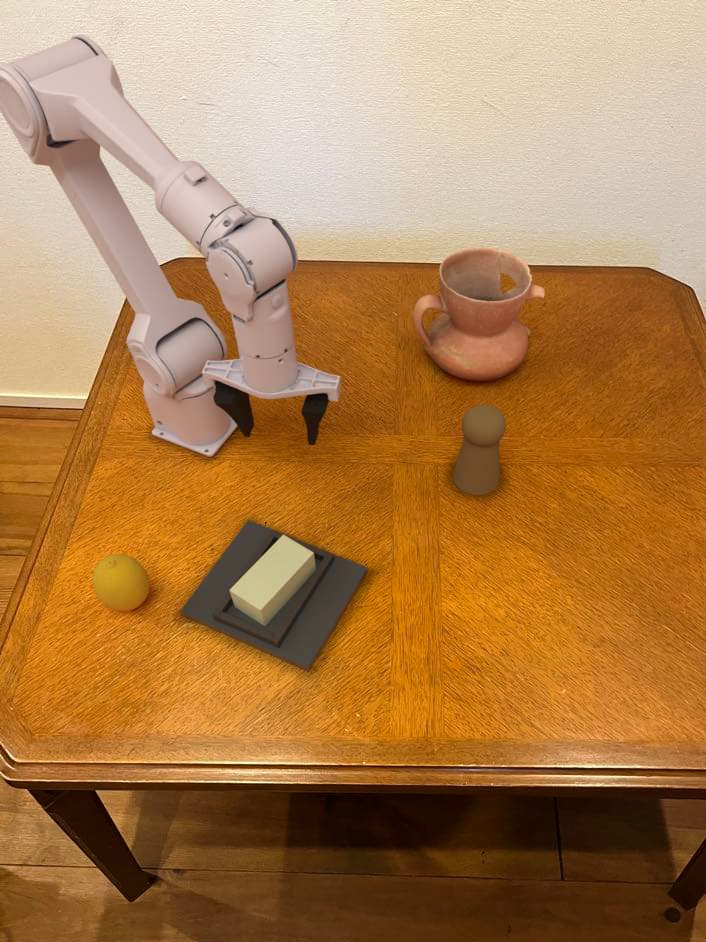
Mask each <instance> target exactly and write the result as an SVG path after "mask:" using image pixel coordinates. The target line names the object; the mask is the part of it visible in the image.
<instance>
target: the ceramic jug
mask: <svg viewBox="0 0 706 942" xmlns="http://www.w3.org/2000/svg"><path fill="white" fill-rule="evenodd" d="M502 274H505V275H507V276H509V277H510V279H511V280H512V281H513V282H514V283H515V284H516V287H514V288H511V289H509V290H507V291H505V292H504V293H502V288H501V287H502V286H501V276H502ZM438 281H439V289H440V293H441V295H440V296H439V295H437V294H436V295H435V294H427V295H423V296H422V297H420V298H419V299H418V300H417V302H416V304H415V306H414V308H413V313H412V323H413V324H412V325H413V328H414V330H415V332H416V333H417V335H418V336H419V338H420V340H421V341H422V342H423V348H424V350H425V351H426V353H427V354H428V355H429V357H430V359H431V360H432V361H433V362H434V363H435V364H436V366H438V367H439V368H440V369H441V370H442V371H444V372H446V373H447V374H450V375H451V376H453V377H456V378H459V379H462V380H466V381H471V382H472V381H473V382H488V381H493V380H494V381H495V380H498V379H501V378H503V377H506V376H508V375H509V374H510V373H512V372H514V371H516V370H517V369H518V368H519V367H520V366H521V364H522V363H523V361H525V359H526V356H527V354H528V349H529V338H530V336H531V329H529V328H528V327H527V326H526V325H524V324H523V322H521V320H520V319H519V318H517V316H518V315H519V313H520V312H521V310H522V308H523V307H524V305H525V303H526V302H528V301H530V300H532V299H539V300H544V298H545V296H546V295H545V294H546V293H545V292H546V291H545V288H544V287H542V286H539V285H536V284H535V285H534V284H533V285H532V282H533V275H532V274H531V269H530V266H529V265H528V264H527V263H526V262H525V261H524V260H523V259H521V257H519V256H517V255H516V254H514V253H512V252H509V251H506V250H502V249H501V250H500V249H498V248H492V247H473V248H469V249H463V250H461V251H456V252H454V253H452V254H450V255H449V256H447V257H446V258H445V259H443V260H442V262H441V263H440V265H439V269H438ZM428 310H436V311H439V312H441V313H440V314H439V315H438V316H436V317H435V319H434V320H433V321H432V322H431V324H430V325H429V327H428V330H427V331H426V329H425V326H424V320H423V319H424V316H425V313H426V312H427V311H428Z"/></svg>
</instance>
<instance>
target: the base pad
mask: <svg viewBox="0 0 706 942" xmlns="http://www.w3.org/2000/svg"><path fill="white" fill-rule="evenodd" d="M282 535H285V536H287V537H288V538H290V539H292V540H293V541H295V542H297V543H298V544H300V545H302V546H303V547H305V548H307V549H308V550H310V551H312V552H313V553H314V558H315V565H316V571H315V572H314V573H313V574H312V575H311V576H310V577H309V579H308V580H307V581H306V582H305V583H304V584H303V585H302V586H301V587H300V588H299V590H298V591H297V592H296V593H295V594H294V595H293V596H292V597H291V598H290V600H289V601H288V602H287V603H286V604H285V605H284V606H283V607H282V608H281V609H280V611H279V612H278V613H277V614H276V615H275V616H274V617H273V618H272V619H271V620H270V622H269V623H268V624H267V625H266V626H264V625H262V624H260V623H259V622H257V621H256V620H254V619H253V618H251V617H250V616H248V615H247V614H245V613H244V612H242V611H241V610H239V609H237V608H236V607H235V606H234V603H233V600H232V597H231V594H230V591H229V590H230V589H231V588H232V587H233V586H234V585H235V584H236V583H237V582H238V581H239V580H240V579H241V578H242V577H243V576H244V575H245V574H246V572H247V571H248V570H249V569H250V568H251V567H252V566H253V565H254V564H255V563H256V562H257V561H258V560H259V559H260V558H261V557H262V556H263V555H264V554H265V553H266V552H267V551H268V550H269V549H270V548H271V547H272V546H273V545H274V544H275V543H276V542H277V541H278V540H279V539H280V537H281V536H282ZM368 572H369V571H368V567H367V566H365V565H362V564H359V563H357V562H354V561H352V560H349V559H347V558H345V557H342V556H339V555H337V554H335V553H332V552H330V551H327V550H324V549H323V548H319V547H317V546H314V545H312V544H309V543H307V542H304V541H302V540H299V539H297V538H294V537H292V536H289V535H287V534H284V533H282V532H280V531H277V530H274V529H272V528H269V527H267V526H264V525H263V524H260V523H257V522H255V521H253V520H249V519H248V520H246V522H245V524H244V525H243V526H242V528H241V529H240V530H239V532H238V533H237V535H235V537H234V538H233V539H232V541H231V542H230V543H229V545H228V546H227V547H226V549H225V550H224V552H223V553H222V554H221V555H220V557H219V558H218V560H217V561H216V562H215V564H214V565H213V567H212V568H211V569H210V571H209V572H208V573H207V574H206V576H205V577H204V578H203V580H202V581H201V582H200V584H199V585H198V587H197V588H196V589H195V591H193V593H192V595H191V596H190V598H189V599H188V600H187V601H186V603H185V604H184V606H182V608H181V610H180V611H179V612H180V613H181V616H182V617H183V618H187V619H189V620H191V621H194V622H196V623H198V624H200V625H203V626H204V627H206V628H209V629H211V630H214V631H215V632H218V633H221V634H223V635H225V636H227V637H230V638H231V639H234V640H236V641H239V642H241V643H243V644H246V645H247V646H249V647H251V648H254V649H256V650H259V651H261V652H263V653H265V654H268V655H270V656H272V657H274V658H276V659H279V660H281V661H282V662H285V663H288V664H290V665H292V666H294V667H296V668H299V669H301V670H303V671H306V672H307V673H309V672H310V671H311V669H312V667H313V666H314V664H315V662H316V660H317V659H318V657H319V656H320V654H321V652H322V651H323V648H324V647H325V645H326V644H327V642H328V640H329V638H330V637H331V635H332V633H333V632H334V630H335V628H336V626H337V625H338V624H339V621H340V620H341V618H342V616H343V615H344V613H345V612H346V610H347V608H348V606H349V605H350V603H351V601H352V599H353V598H354V596H355V595H356V593H357V591H358V589H359V588H360V587H361V584H362V583H363V581H364V579H365V578H366V576H367V574H368Z"/></svg>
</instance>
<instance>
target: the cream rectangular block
mask: <svg viewBox="0 0 706 942" xmlns="http://www.w3.org/2000/svg"><path fill="white" fill-rule="evenodd" d="M285 535H286V534H285ZM285 535H282V536H281V537H280V539H279V540H278V541H277V542H276V543H275V544H274V545H273V546H272V547H271V548H270V549H269V550H268V551H267V552H266V553H265V554H264V555H263V556H262V557H261V558H260V559H259V560H258V561H257V562H256V563H255V564H254V565H253V566H252V567H251V568H250V569H249V570H248V571H247V572H246V574H245V575H244V576H243V577H242V578H241V579H240V580H239V581H238V582H237V583H236V584H235V585H234V586H233V587H232V588H231V589H230V590H229V591H230V594H231V597H232V600H233V603H234V606H235V607H236V608H237V609H239V610H241V611H242V612H244V613H245V614H247V615H248V616H250V617H251V618H253V619H254V620H256V621H257V622H259V623H260V624H262V625H264V626H266V625H267V624H268V623H269V622H270V620H271V619H272V618H273V617H274V616H275V615H276V614H277V613H278V612H279V611H280V609H281V608H282V607H283V606H284V605H285V604H286V603H287V602H288V601H289V600H290V598H291V597H292V596H293V595H294V594H295V593H296V592H297V591H298V590H299V588H300V587H301V586H302V585H303V584H304V583H305V582H306V581H307V580H308V579H309V577H310V576H311V575H312V574H313V573H314V572H315V571H316V565H315V558H314V553H313V552H312V551H310V550H308V549H307V548H305V547H303V546H302V545H300V544H298V543H297V542H295V541H293V540H292V539H290V538H288V537H287V536H288V535H287V536H285Z"/></svg>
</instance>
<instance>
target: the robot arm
mask: <svg viewBox="0 0 706 942" xmlns="http://www.w3.org/2000/svg"><path fill="white" fill-rule="evenodd" d="M0 113H1V115H2V116H3V118H4V120H5V121H6V123H7V125H8V126H9V128H10V130H11V132H12V133H13V134H14V136H15V138H16V140H17V141H18V143H19V145H20V146H21V148H22V150H23V151H24V152H25V154H27V156H28V158H29V159H30V161H31V163H32V164H33V165H38V166H46V167H49V168H50V171H51V172H52V174H53V175H54V177H55V179H56V180H57V182H58V184H59V186H60V187H61V189H62V191H63V192H64V194H65V196H66V197H67V200H69V202H70V204H71V206H72V208H73V210H74V211H75V213H76V214H77V216H78V218H79V219H80V221H81V223H82V224H83V226H84V228H85V229H86V231H87V233H88V235H89V237H90V238H91V240H92V242H93V243H94V245H95V247H96V248H97V250H98V252H99V253H100V255H101V257H102V259H103V260H104V262H105V264H106V266H107V267H108V269H109V270H110V273H111V274H112V276H113V277H114V279H115V281H116V282H117V284H118V286H119V288H120V289H121V291H122V293H123V294H124V296H125V298H126V299H127V301H128V303H129V304H130V306H131V309H132V310H133V311H134V313H135V314H134V315H135V316H134V319H133V322H132V323H131V327H130V329H129V332H128V334H127V337H126V340H125V344H126V345H127V348H128V350H129V353H130V354H131V356H132V358H133V361H134V364H135V368H136V370H137V372H138V374H139V376H140V377H141V379H142V380H143V388H142V392H143V393H142V394H143V397H144V400H145V403H146V406H147V408H148V411H149V415H150V417H151V419H152V423H153V425H154V428H152V431H151V434H152V436H153V437H156V438H159V439H161V440H164V441H165V442H166V441H167V442H170V443H172V444H173V445H177V446H179V447H182V448H185V449H188V450H190V451H193V452H195V453H198V454H201V455H203V456H206V457H208V458H211V457H214V455H216V453H218V451H219V450H220V448H222V446H223V445H224V444H225V442H226V441H227V440H228V439H229V437H231V436H232V434H233V433H234V432H235V431H236V429H239V431H240V432H241V434H242V436H243V438H250V437H251V434H252V432H253V428H254V427H255V422H254V421H255V420H254V419H255V418H254V413H253V410H252V404H251V401H250V395H251V396H253V397H256V398H258V399H262V400H263V399H264V400H277V399H287V398H294V397H301V396H305V398H304V400H303V401H304V402H303V404H302V407H301V411H300V412H301V415H302V417H303V420H304V422H305V427H306V435H307V436H306V437H307V443H308V445H309V446H316V443H317V440H318V437H319V433H320V432H319V430H320V429H319V428H320V423H321V422H322V420H323V418H324V417H325V414H326V412H327V409H328V406H329V402H338V401H339V398H340V395H341V392H342V379H341V375H337V374H332V373H328V372H325V371H322V370H320V369H317V368H314V367H312V366H309V365H308V364H306V363H302V362H300V361H298V358H297V350H296V342H295V335H294V327H293V319H292V309H291V302H290V294H289V287H288V285H289V284H288V280H287V278H288V277H289V276H290V275H291V274H292V273H294V272H295V271H296V269H297V267H298V263H299V256H298V250H297V247H296V244H295V242H294V240H293V237H292V236H291V234H290V232H289V231H288V230H287V228H286V227H285V226H284V225H283V224H282V223H281V222H280V220H279V219H278V217H276V216H274V215H273V214H271V213H269V212H264V211H262V212H261V211H258V210H257V209H256V208H255V207H252V206H249V207H245V206H243V204H242V203H241V202H240V201H239V200H238V199H237V198H236V197H235V196H234V195H233V194H232V193H230V192H229V190H228V189H227V188H225V187H224V186H223V184H222V183H220V182H219V180H217V179H216V177H214V176H213V175H212V174H211V173H210V171H208V170H207V169H206V167H204V166H203V165H202V164H201V163H199V162H198V161H196V160H179V158H178V157H177V156H176V155H175V154H174V152H173V151H171V149H170V148H169V147H168V146H167V144H166V143H165V142H164V141H163V140H162V138H160V136H159V135H158V134H157V133H156V132H155V131H154V129H152V127H151V126H150V125H149V124H148V123H147V122H146V120H145V119H144V118H143V117H142V116H141V114H140V113H139V112H138V111H137V110H136V109H135V108H134V106H133V105H132V104H131V103H130V102H129V100H128V99H126V97H125V94H124V89H123V85H122V82H121V78H120V76H119V74H118V71H117V69H116V67H115V64H114V63H113V61H112V60H111V59H109V57H108V56H107V54H106V53H105V51H104V50H103V49H102V47H101V46H100V45H98V44H97V43H96V42H95V41H94V40H93V39H92V38H90V37H89V36H87V35H85V34H77V35H74V36H72V37H71V38H70V39H69V40H66V41H64V42H60V43H58V44H55V45H54V46H53V45H52V46H50V47H47V48H44V49H42V50H39V51H36V52H33V53H31V54H28V55H26V56H23V57H21V58H18V59H15V60H13V61H10V62H7V63H5V62H2V63H0ZM101 148H103V149H104V150H105V151H106V152H107V153H108V154H110V155H111V156H112V157H113V158H114V159H115V160H117V161H118V162H120V163H121V165H122V166H124V167H125V168H127V169H128V170H129V171H130V172H131V173H133V174H134V175H135V176H136V177H137V178H138V179H140V180H141V181H142V182H143V183H145V184H146V185H147V186H148V187H149V188H150V189H152V190H153V192H154V205H155V208H156V210H157V212H158V213H159V214H160V215H161V216H162V217H163V218H164V219H165V220H166V221H167V222H168V223H169V224H170V225H171V226H172V227H173V228H174V229H175V230H176V231H177V232H178V233H179V234H180V235H181V236H182V237H183V238H185V240H186V241H188V242H189V244H191V245H192V246H193V248H195V250H196V251H197V252H199V253H200V254H201V255H202V256H203V257H204V258H205V259H206V260H205V265H206V269H207V272H208V274H209V275H210V277H211V278H210V279H212V281H213V283H214V285H215V286H216V287H217V289H218V291H219V293H220V297H221V303H222V304H223V305H224V307H225V309H226V311H227V312H229V313H230V316H231V321H232V326H233V331H234V336H235V340H236V347H237V351H238V356H239V358H234V359H227V357H228V352H229V351H228V344H227V340H226V337H225V335H224V333H223V332H222V330H221V329H220V328H219V326H218V325H217V324H216V323H215V322H214V321H213V320H212V318H211V317H210V316H209V314H208V313H207V311H206V309H205V307H204V305H202V304H201V303H199V302H196V301H194V300H189V299H185V298H179V297H177V295H176V294H175V292H174V290H173V288H172V286H171V284H170V282H169V281H168V279H167V277H166V275H165V273H164V272H163V270H162V268H161V266H160V264H159V262H158V260H157V259H156V257H155V255H154V253H153V251H152V249H151V248H150V245H149V244H148V242H147V241H146V239H145V236H144V235H143V233H142V231H141V229H140V227H139V226H138V223H137V222H136V220H135V218H134V216H133V215H132V213H131V211H130V210H129V207H128V206H127V204H126V202H125V200H124V198H123V196H122V194H121V193H120V191H119V189H118V187H117V186H116V184H115V182H114V180H113V178H112V176H111V174H110V172H109V171H108V169H107V167H106V165H105V164H104V162H103V160H102V157H101Z"/></svg>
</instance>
